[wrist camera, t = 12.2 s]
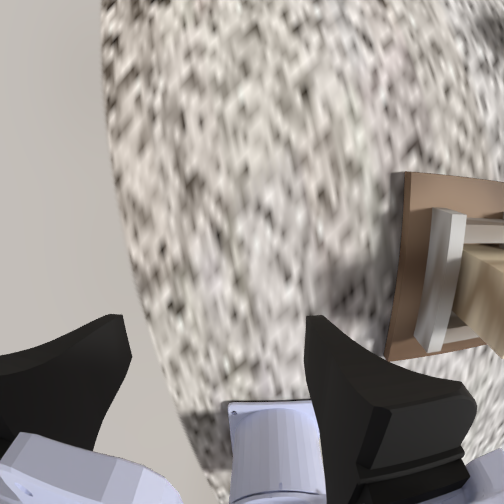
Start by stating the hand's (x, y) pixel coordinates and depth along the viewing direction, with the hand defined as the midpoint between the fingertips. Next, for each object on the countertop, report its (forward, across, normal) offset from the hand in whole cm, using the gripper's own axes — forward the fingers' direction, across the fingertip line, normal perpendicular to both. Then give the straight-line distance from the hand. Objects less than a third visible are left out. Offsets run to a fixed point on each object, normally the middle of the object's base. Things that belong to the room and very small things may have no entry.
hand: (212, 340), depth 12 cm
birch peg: (+8, -18, +1) cm, 19 cm away
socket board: (+9, -18, +1) cm, 20 cm away
